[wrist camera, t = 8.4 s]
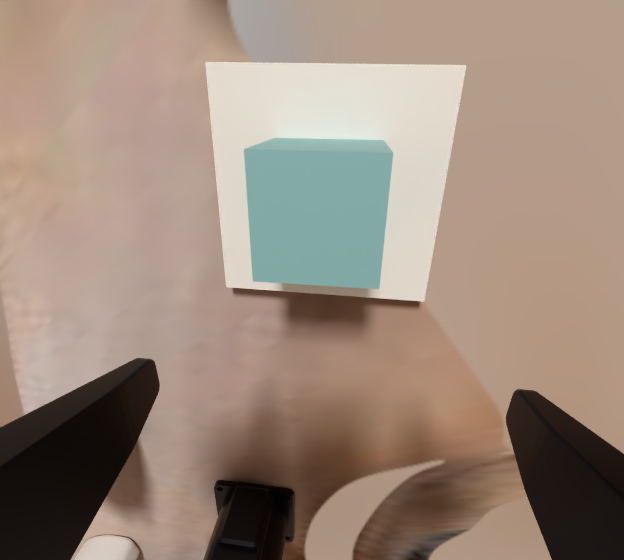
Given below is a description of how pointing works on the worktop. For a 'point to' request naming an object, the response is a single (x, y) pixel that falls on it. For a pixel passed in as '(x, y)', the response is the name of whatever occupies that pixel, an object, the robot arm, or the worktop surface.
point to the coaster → (340, 125)
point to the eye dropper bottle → (108, 549)
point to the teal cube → (318, 210)
